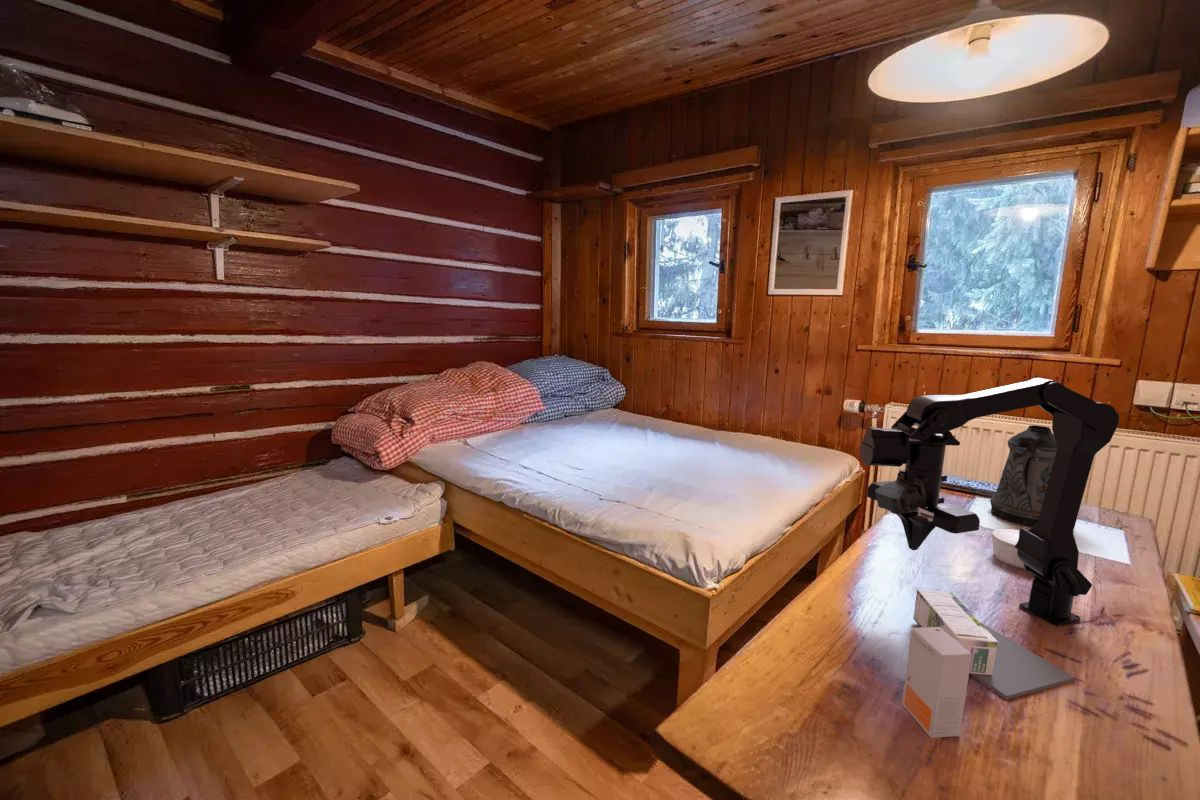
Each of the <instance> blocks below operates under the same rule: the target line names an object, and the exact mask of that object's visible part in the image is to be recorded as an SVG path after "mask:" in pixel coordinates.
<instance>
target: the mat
mask: <svg viewBox="0 0 1200 800" xmlns="http://www.w3.org/2000/svg"><path fill="white" fill-rule="evenodd" d="M979 622H980V623H981V624H982V625H983V626H984V627H985V628H986V629H987V630H988V632H989V633H990V634H991V635H992V636H993V637H994V638H995V639H996V640H997V641H998V643H997V648H996V654H995V660H994V666H993V671H992V675H984V674H973V673H969V676H971V677H972V678H974V679H975V680H977V681H979V682H980V683H981V684H982V685H984V686H985V687H987V688H989V689H990V690H992V691H993V692H994V693H995V694H997V695H999V696H1000V697H1001V698H1003V699H1004V700H1005V701H1007V700H1010V699H1015V698H1017V697H1021V696H1025V695H1029V694H1032V693H1036V692H1039V691H1044V690H1047V689H1051V688H1054V687H1057V686H1061V685H1066V684H1068V683H1073V682H1075V681H1076V676H1074V675H1072V674H1070V673H1068V671H1065V670H1063V669H1061V668H1060V667H1058V666H1056V665H1055V664H1053V663H1051V662H1049V660H1046V659H1045V658H1042V657H1041V656H1039V655H1038V654H1035V653H1034V652H1033V651H1031V650H1029V649H1027V648H1025V647H1024V646H1022V645H1020V644H1018V643H1017V642H1015V641H1014V640H1012V639H1011V638H1009V637H1006V636H1005V635H1003V634H1001V633H1000V632H998V631H996V630H994V629H993V628H991V627H989V626H988V625H986V624H984V623H983V622H981V621H979ZM911 633H912V631H911ZM911 633H910V634H911Z"/></svg>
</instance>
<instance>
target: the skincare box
mask: <svg viewBox="0 0 1200 800" xmlns="http://www.w3.org/2000/svg"><path fill="white" fill-rule="evenodd" d="M911 632H912V633H910V634H911V635H910V641H909V648H908V655H907V656H908V657H907V663H906V672H905V680H904V687H903V694H902V701H901V702H902V704H901V706H903V707H904V708H905V709H906V710H907V712H908V713H909V714H910V715H911V716H912V718H914V720H915V721H916V722H917V723H918V724H919V726H921V728H922V730H923V731H925V733H926V734H927V735H928V736H929V737H930V738H932V739H934V738H947V737H948V738H949V737H952V738H953V737H959V736H960V735H961V731H962V729H961V728H962V723H963V719H964V718H963V717H964V711H965V703H966V695H967V689H968V684H969V676H970V674H969V671H970V665H971V659H972V654H971V653H970V652H968V651H967V650H966V649H965V648H964V647H962V646H961V645H960V643H959V642H958V641H956V640H955V639H954V638H953V637H951V636H950V635H948V634H947V633H946V632H945V631H944V630H942V629H941V628H940V627H923V628H920V627H913V628H911Z"/></svg>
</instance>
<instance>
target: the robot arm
mask: <svg viewBox="0 0 1200 800" xmlns="http://www.w3.org/2000/svg"><path fill="white" fill-rule="evenodd" d="M1036 406H1038V407H1040V408H1041V409H1042V410H1043V411H1045V412H1046V413H1048V414H1050V415H1051V416H1052V423H1051V432H1052V433H1053V434H1054V437H1055V440H1056V443H1057V451H1056V455H1055V459H1054V463H1053V466H1052V470H1051V474H1050V478H1049V482H1048V485H1047V489H1046V493H1045V497H1044V500H1043V504H1042V508H1041V512H1040V516H1039V519H1038V522H1037V523H1036V524H1035V525H1034V526H1033V527H1030V528H1029V529H1027V528H1023V527H1021V528H1020V529H1019V530H1020V531H1019V540H1018V542H1017V544H1016V545H1015V546H1014V547H1015V548H1016V549H1018V550H1017V555H1018V557H1019V558H1020V560H1021V561H1022V562H1023V564H1024V568H1025V569H1024V570H1025V571H1026V572H1028V573H1029V574H1031V575H1032V576H1033V579H1032V584H1031V588H1030V593H1029V598H1028V601H1025V602H1021V603H1019V604H1018V605H1019V608H1021V609H1023V610H1025V611H1028V612H1029V613H1031V614H1033V615H1034V616H1036V617H1039V618H1041V619H1043V620H1045V621H1047V622H1049V623H1050V624H1052V625H1055V626H1060V625H1064V624H1069V623H1072V622H1078V621H1080V620H1081V616H1080V615H1077V614H1076V613H1073V612H1072V609H1073V604H1074V603H1073V602H1074V598H1075V597H1078V596H1081V595H1083V596H1086V595H1087V594H1089V593H1088V592H1089V591H1090V589H1091V588H1092V586H1093V584H1092V583H1091V582H1090V581H1089V580H1088V579H1087V577H1086V576H1085V575H1084V574H1083V573H1082V572H1081V571H1080V570H1079V569H1078V567H1079V558H1080V557H1079V556H1080V555H1079V553H1080V551H1079V547H1078V545H1077V542H1076V539H1075V536H1074V530H1075V526H1076V523H1077V519H1078V516H1079V512H1080V509H1081V505H1082V502H1083V499H1084V494H1085V490H1086V486H1087V484H1088V479H1089V477H1090V473H1091V470H1092V466H1093V462H1094V458H1095V456H1096V454H1098V452H1099V451H1101V450H1102V449H1103V448H1105V447H1106V446H1107V445H1108V444H1109V443H1110V442H1111V440H1112V439H1113V436H1114V434H1115V432H1116V431H1117V429H1118V426H1119V423H1120V413H1119V412H1117V410H1116V409H1115V408H1114V406H1112V405H1111V404H1108V403H1105V402H1099V401H1095V400H1093V399H1091V398H1089V397H1087V396H1084V395H1083V394H1081V393H1078V392H1076V391H1074V390H1072V389H1070V388H1069V387H1067V386H1065V385H1063V384H1062V383H1061V382H1060V381H1057V380H1053V379H1048V378H1043V377H1034V378H1030V379H1028V380H1027V381H1020V382H1016V383H1012V384H1008V385H1001V386H998V387H993V388H989V389H984V390H980V391H975V392H970V393H964V394H928V395H927V394H926V395H919V396H916V397H914V398H912V399H911V400H910V402H909V404H908V406H907V408H906V411H905V412H903V413H902V414H901V416H900V417H899V418H898V419H897V420H896V421H895V422H894V423H893V424H892V425H891V428H879V427H873V426H869V427H868V428H867V431H866V434H864V435H863V437H862V440H861V442H860V444H859V452H860V453H859V455H860V459H861V462H862V464H863V465H864V466H879V467H897V468H900V467H902V466H903V465H904V466H905V467H904V469H899V471H898V473H897V477H896V479H895V480H894V481H892V480H891V481H890V480H885V481H878V482H877V481H875V482H871V483H870V484H869V486H868V487H867V490H866V491H867V492H866V497H867V498H869V499H872V500H874V501H875V502H877V506H878V508H880V509H885V510H887V511H888V512H890V513H892V514H895V515H896V516H897V517H898V518H899V519H900V521H901V524H902V527H903V529H904V534H905V537H906V541H907V544H908V548H909V550H912V551H917V550H918V549H919V548H920V546H921V545H922V544H923V543H924V542H925V540H926V539H927V538H928V537H929V535H930V534H931V533H932V531H933V530H934V529H936V528H939V529H941V530H943V531H945V532H948V533H950V534H951V533H952V534H963V533H969V532H975V531H979V530H980V529H979V528H980V524H981V523H980V522H981V521H980V517H979V515H978V514H977V513H975V512H973V511H970V510H968V509H965V508H962V507H959V506H951V507H942V506H939V504H941V505H942V504H944V501H945V497H944V496H941V495H940V492H941V484H942V482H947V481H948V475H946V474H943V472H944V471H943V470H944V462H945V456H946V454H945V453H946V447H947V446H954V447H955V446H960V445H961V442H960V440H958V439H957V438H956V437H955V436H954V435H953V434H952V431H953V430H955V429H958V428H961V427H963V426H964V425H966V424H967V423H969V422H970V421H972V420H975V419H978V418H982V417H987V416H992V415H997V414H1001V413H1007V412H1011V411H1017V410H1021V409H1025V408H1031V407H1036ZM913 426H916V427H917V428H915V427H913Z"/></svg>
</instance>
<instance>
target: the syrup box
mask: <svg viewBox="0 0 1200 800" xmlns="http://www.w3.org/2000/svg"><path fill="white" fill-rule="evenodd" d="M913 612H914V613H913V620H914V621H915V622H916V624H917V625H918V626H919V627H918V628H923V627H940V628H941V629H942V630H944V631H945V632H946V633H947V634H948V635H950V636H951V637H953V638H954V639H955V640H956V641H958V642H959V643H960V645H961V646H962V647H964V648H965V649H966V650H967V651H968V652H970V653H971V654H972V659H971V665H970V671H969V673H973V674H984V675H992V671H993V666H994V660H995V654H996V648H997V643H998V641H997V640H996V639H995V638H994V637H993V636H992V635H991V634H990V633H989V632H988V630H987V629H986V628H985V627H984V626H983V625H982V624H983V623H982V622H981V621H979V620H978V619H977V618H976V617H975V616H974V615H973V614H972V613H971V611H969V609H967V607H966V606H965V605H964V604H963V603H962V602H961V601H960V600H959V599H958V597H956V596H955V594H954V593H953V592H952V591H951V592H950V591H941V590H940V591H939V590H926V589H925V590H924V589H917V590H916V596H915V604H914V611H913ZM980 622H981V623H982V624H981V623H980Z"/></svg>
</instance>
